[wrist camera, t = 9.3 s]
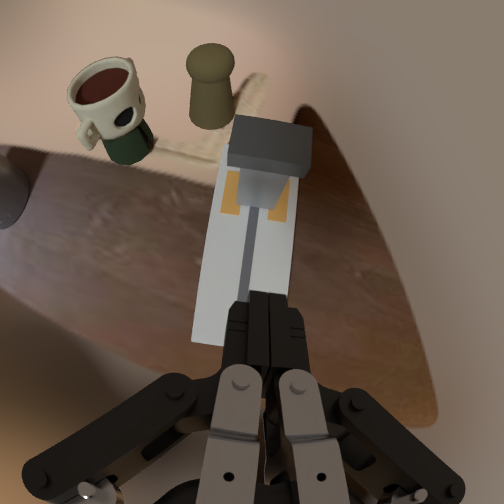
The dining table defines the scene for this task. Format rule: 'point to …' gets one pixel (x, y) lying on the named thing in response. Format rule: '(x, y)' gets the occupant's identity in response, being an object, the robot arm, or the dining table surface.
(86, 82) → the character mug
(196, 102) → the cork
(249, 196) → the fader knob
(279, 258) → the fader console
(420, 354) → the dining table surface
